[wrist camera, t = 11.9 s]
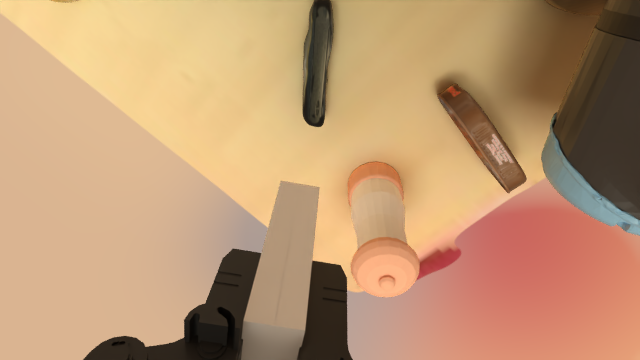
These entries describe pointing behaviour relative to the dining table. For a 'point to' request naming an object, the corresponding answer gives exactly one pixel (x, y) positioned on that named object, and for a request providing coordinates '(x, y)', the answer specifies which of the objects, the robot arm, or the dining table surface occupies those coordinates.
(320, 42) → the black elongated piece
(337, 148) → the dining table surface
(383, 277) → the salt shaker
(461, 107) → the tin
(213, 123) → the dining table surface
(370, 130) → the dining table surface
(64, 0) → the bread roll
